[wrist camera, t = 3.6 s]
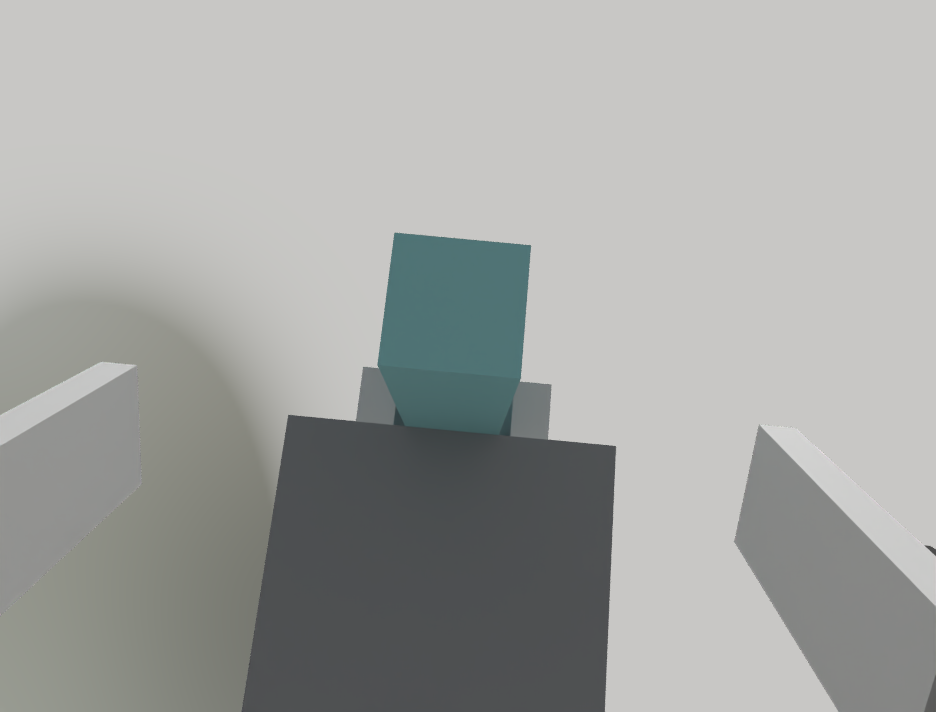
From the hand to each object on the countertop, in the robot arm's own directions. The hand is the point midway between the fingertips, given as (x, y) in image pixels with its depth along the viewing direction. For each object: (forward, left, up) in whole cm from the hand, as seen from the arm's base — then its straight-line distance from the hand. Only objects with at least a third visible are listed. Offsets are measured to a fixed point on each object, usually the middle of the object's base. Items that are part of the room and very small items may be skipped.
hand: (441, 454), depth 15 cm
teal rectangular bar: (-12, +12, +3) cm, 17 cm away
